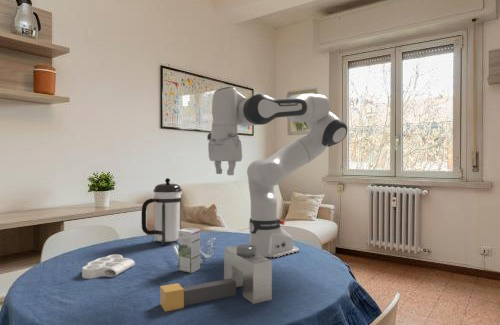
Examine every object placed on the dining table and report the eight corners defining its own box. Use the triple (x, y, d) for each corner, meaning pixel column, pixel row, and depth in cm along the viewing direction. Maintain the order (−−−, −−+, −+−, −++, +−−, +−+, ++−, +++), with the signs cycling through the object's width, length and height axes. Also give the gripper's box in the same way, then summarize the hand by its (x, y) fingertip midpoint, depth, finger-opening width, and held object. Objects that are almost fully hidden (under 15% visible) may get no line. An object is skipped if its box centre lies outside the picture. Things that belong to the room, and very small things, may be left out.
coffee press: (156, 237, 171) (156, 177, 170) (188, 239, 169) (188, 177, 168) (140, 246, 154) (140, 179, 153) (175, 248, 152) (175, 179, 151)
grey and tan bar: (230, 290, 105) (230, 274, 104) (237, 296, 100) (237, 279, 100) (160, 304, 95) (160, 286, 94) (165, 311, 90) (165, 292, 90)
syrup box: (200, 268, 125) (200, 228, 124) (191, 273, 119) (191, 231, 119) (187, 266, 127) (187, 226, 127) (177, 271, 122) (177, 230, 121)
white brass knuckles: (110, 281, 112) (71, 278, 115) (139, 265, 130) (105, 262, 133) (110, 271, 112) (71, 268, 115) (139, 256, 130) (105, 253, 133)
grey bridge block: (240, 278, 114) (240, 239, 114) (271, 299, 98) (272, 253, 98) (224, 281, 112) (224, 241, 111) (253, 304, 95) (253, 256, 95)
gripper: (246, 133, 112) (246, 175, 113) (221, 136, 130) (221, 173, 131) (229, 132, 109) (229, 176, 110) (205, 135, 127) (205, 173, 128)
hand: (224, 174), depth 120 cm, fingers open, 8 cm apart
